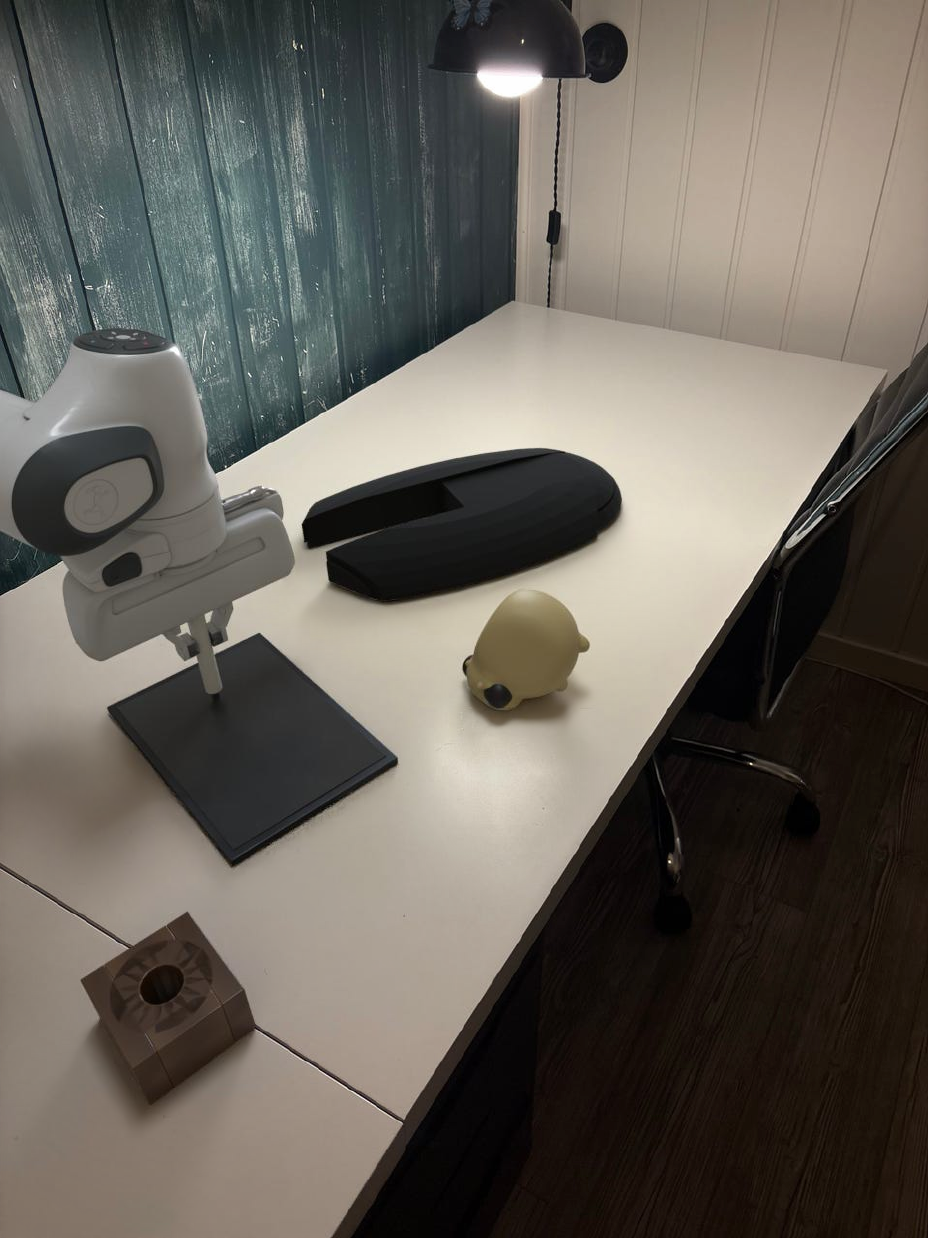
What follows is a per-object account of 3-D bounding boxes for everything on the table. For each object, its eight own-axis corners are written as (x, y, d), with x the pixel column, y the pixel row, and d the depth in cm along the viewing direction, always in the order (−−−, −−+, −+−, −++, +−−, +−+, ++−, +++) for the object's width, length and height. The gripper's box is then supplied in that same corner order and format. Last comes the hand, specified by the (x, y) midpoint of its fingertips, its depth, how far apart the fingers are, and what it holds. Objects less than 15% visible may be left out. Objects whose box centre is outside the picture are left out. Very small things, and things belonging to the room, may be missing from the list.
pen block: (150, 1106, 60) (131, 1069, 57) (99, 1017, 65) (79, 979, 62) (256, 1027, 64) (244, 989, 61) (201, 949, 69) (187, 910, 66)
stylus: (212, 704, 88) (181, 587, 79) (204, 695, 89) (173, 578, 80) (227, 696, 89) (198, 579, 80) (219, 688, 90) (189, 571, 81)
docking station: (664, 529, 112) (669, 493, 109) (354, 624, 99) (349, 587, 96) (560, 444, 130) (561, 411, 127) (284, 515, 116) (279, 480, 113)
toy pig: (500, 683, 96) (426, 650, 90) (571, 596, 93) (500, 554, 87) (541, 744, 89) (463, 712, 82) (620, 650, 86) (545, 610, 79)
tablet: (232, 867, 74) (230, 860, 74) (108, 713, 89) (106, 706, 88) (398, 763, 83) (397, 756, 82) (260, 637, 97) (259, 631, 97)
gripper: (259, 466, 83) (280, 588, 92) (36, 551, 73) (84, 680, 82) (296, 492, 80) (315, 616, 88) (67, 586, 69) (114, 717, 78)
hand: (203, 648), depth 85 cm, fingers closed on stylus, 1 cm apart
